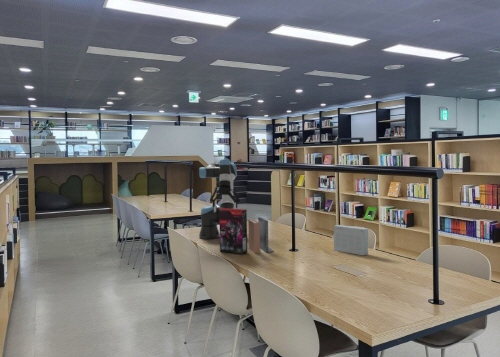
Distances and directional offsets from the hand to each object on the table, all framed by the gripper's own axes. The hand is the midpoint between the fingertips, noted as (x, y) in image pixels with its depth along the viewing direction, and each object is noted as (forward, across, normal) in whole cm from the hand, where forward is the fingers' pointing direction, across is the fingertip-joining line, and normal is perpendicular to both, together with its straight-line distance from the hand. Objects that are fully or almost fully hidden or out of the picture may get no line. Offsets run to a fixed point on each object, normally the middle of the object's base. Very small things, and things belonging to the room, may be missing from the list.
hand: (225, 212), depth 262 cm
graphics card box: (+27, +4, -7) cm, 28 cm away
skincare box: (+29, +71, -33) cm, 84 cm away
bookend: (+25, +25, -8) cm, 36 cm away
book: (+26, +17, -8) cm, 32 cm away
